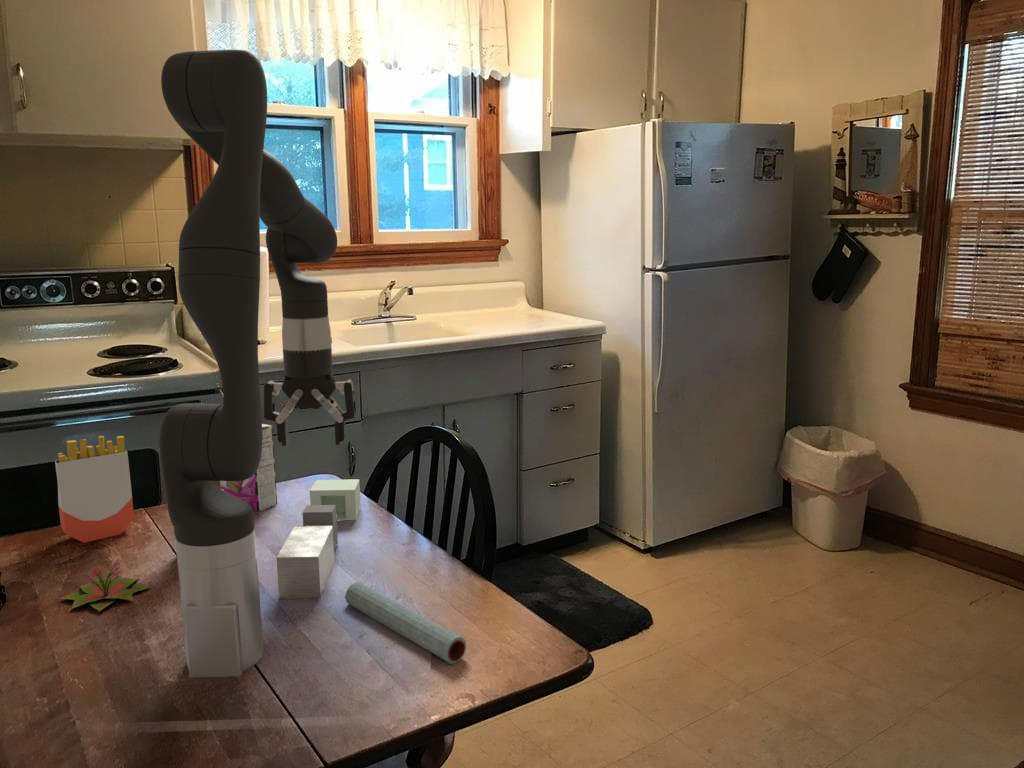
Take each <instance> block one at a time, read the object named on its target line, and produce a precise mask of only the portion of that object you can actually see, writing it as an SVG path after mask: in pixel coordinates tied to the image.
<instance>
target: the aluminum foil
mask: <svg viewBox="0 0 1024 768" xmlns="http://www.w3.org/2000/svg"><path fill="white" fill-rule="evenodd" d="M344 597H345V601H346V603H347V605H349V606H350V607H352V608H354V609H355V610H357V611H360V612H361V613H363V614H364V615H366V616H368V617H370V618H371V619H372V620H375V621H376V622H378V623H380V624H382V625H384V626H385V627H387V629H390V630H392V631H394V632H395V633H397V634H399V635H401V636H402V637H404V638H405V639H408V640H409V641H410V642H412V643H414V644H416V645H418V646H419V647H422V648H423V649H425V650H426V651H428V652H430V653H431V654H433V655H435V656H436V657H438V659H441V660H442V661H443V662H444V663H446V665H448V666H451V665H453V664H454V665H455V664H456V663H457V662H460V661H461V660H462V658H463V657H465V656H464V655H465V653H466V651H467V641H466V640H465V638H464V637H463V636H461V635H458V634H457V633H455V632H452V631H451V630H449V629H448V628H445V627H443V626H441V625H440V624H438V623H436V622H434V621H432V620H430V619H428V618H427V617H425V616H423V615H421V614H419V613H417V612H415V611H413V610H412V609H410V608H408V607H407V606H404V605H403V604H401V603H399V602H397V601H395V600H394V599H391V598H389V597H388V596H386V595H384V594H382V593H380V592H378V591H377V590H375V589H373V588H371V587H369V586H368V585H365V584H364V583H363V582H362V583H361V582H360V581H359V582H353V583H352V584H350V586H349V587H347V590H346V592H345V596H344Z"/></svg>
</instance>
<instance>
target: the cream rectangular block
mask: <svg viewBox="0 0 1024 768" xmlns="http://www.w3.org/2000/svg"><path fill="white" fill-rule="evenodd" d="M334 565H335V551H334V543H333V526H304V527H303V526H294V527H293V528H292V530H291V531H290V534H289V535H288V537H287V538H286V540H285V542H284V543H283V545H282V547H281V549H280V551H279V552H278V554H277V556H276V569H277V571H276V572H277V584H278V585H277V586H278V598H279V600H280V599H283V600H284V599H317V598H319V599H321V598H322V596H323V594H324V590H325V588H326V587H327V586H326V585H327V583H328V580H329V578H330V576H331V573H332V572H333V571H332V570H333V568H334Z"/></svg>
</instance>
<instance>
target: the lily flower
mask: <svg viewBox="0 0 1024 768" xmlns="http://www.w3.org/2000/svg"><path fill="white" fill-rule="evenodd" d="M117 565H118V563H115V564H114V565H113V567H112V568H111V570H110V571H109V573H108V572H106V570H107V567H105V570H104V571H105V576H104V573H103V572H101V570H100V569H99V568H100V567H98V566H96V569H97V570H98V571H99V572H98V573H97V571H96V570H94V569H91V572H93V574H94V575H95V577H96V578H97V579H98V580H93V578H90V577H87V580H89V581H90V582H88V583H86V584H82V585H80V589H81V590H76V591H73V592H71V593H69V594H66V595H65V596H62V597H59V598H58V599H60V600H61V599H62V600H73V602H72V606H71V608H70V610H72V609H74V608H75V609H76V608H77V607H80V606H83V605H85V604H88V603H89V606H91V607H92V608H93V609H95V610H97V611H98V612H101V611H102V610H103V609H105V608H106V607H108V606H110V605H111V604H113V603H114V602H116V601H117V599H121V600H125V601H132V602H135V601H134V597H133V594H134V593H137V592H139V591H144V590H146V589H150V588H152V586H148V585H145V584H141V583H135V582H136V581H138V580H139V579H140V578H135V577H134V578H133V577H132V578H131V577H122V578H121V577H120V576H119V575H117V572H116V571H117V570H120V569H121V567H120V566H118V567H117V568H115V567H116V566H117ZM114 568H115V570H113V569H114ZM105 577H106V578H105ZM134 583H135V584H134ZM109 593H112V594H111V595H110V596H107V595H109ZM102 595H103V596H102ZM103 599H106V600H103Z"/></svg>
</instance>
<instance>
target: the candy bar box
mask: <svg viewBox="0 0 1024 768" xmlns="http://www.w3.org/2000/svg"><path fill="white" fill-rule="evenodd" d="M273 436H274V435H273V425H270V424H265V423H262V453H261V459H260V463H259V466H258V469H257V471H256V473H255V474H254V475H253V477H251V478H250V479H248V480H245V481H218V484H219V485H218V486H219V487H218V488H220V489H221V490H222V491H224V492H226V493H228V494H230V495H232V496H234V497H236V498H239V499H241V500H243V501H245V502H247V503H248V504H249V505H250V506H251V507H252V509H253V512H254V511H255V512H262V511H264V510H267V509H269V508H271V506H272V507H274V506H276V504H277V505H278V493H277V490H278V489H277V480H276V465H275V464H276V463H275V461H276V460H275V450H274V448H275V447H274V437H273ZM266 508H267V509H266Z"/></svg>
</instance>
